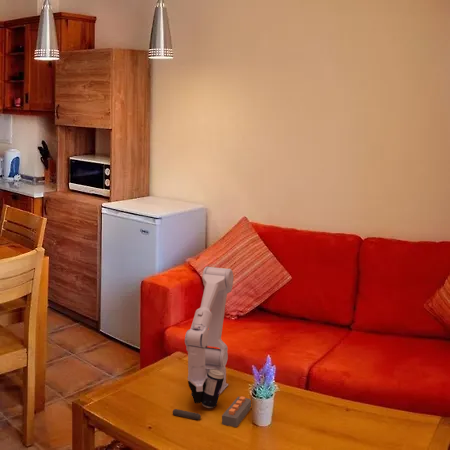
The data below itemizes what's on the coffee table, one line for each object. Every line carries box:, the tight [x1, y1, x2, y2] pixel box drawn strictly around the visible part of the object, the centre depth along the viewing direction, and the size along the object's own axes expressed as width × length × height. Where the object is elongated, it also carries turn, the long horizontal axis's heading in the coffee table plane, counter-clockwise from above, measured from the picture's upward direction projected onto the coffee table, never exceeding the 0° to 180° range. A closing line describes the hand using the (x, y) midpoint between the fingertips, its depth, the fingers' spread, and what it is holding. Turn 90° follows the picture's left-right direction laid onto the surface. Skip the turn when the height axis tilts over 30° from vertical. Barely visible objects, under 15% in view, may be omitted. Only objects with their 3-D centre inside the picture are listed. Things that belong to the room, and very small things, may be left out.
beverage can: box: [200, 369, 224, 409], centre depth 206 cm, size 6×6×12 cm
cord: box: [172, 408, 202, 421], centre depth 200 cm, size 2×10×2 cm, turn 68°
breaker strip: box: [221, 396, 251, 428], centre depth 201 cm, size 14×5×4 cm, turn 157°
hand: (197, 402), depth 206 cm, fingers closed, pressing on beverage can
